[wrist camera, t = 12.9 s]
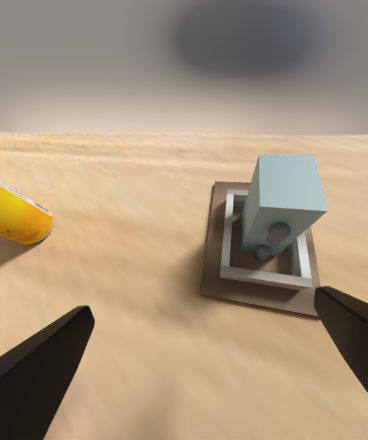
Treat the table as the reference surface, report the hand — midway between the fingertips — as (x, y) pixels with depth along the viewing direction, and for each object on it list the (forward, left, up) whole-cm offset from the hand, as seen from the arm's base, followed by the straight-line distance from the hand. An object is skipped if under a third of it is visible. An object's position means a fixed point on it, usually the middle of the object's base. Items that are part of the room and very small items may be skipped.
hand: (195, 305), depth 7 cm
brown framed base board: (+3, -10, -14) cm, 17 cm away
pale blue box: (+3, -10, -13) cm, 17 cm away
